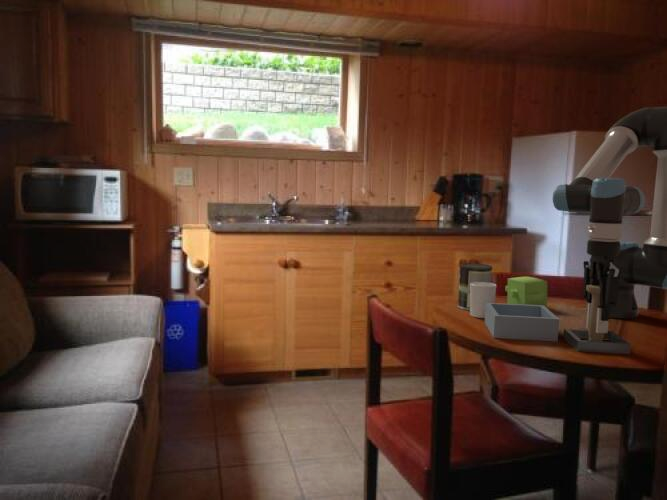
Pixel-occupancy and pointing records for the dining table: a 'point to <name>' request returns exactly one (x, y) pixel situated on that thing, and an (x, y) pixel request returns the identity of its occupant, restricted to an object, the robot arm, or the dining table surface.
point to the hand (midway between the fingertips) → (596, 329)
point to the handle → (594, 313)
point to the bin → (521, 322)
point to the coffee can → (468, 275)
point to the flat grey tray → (596, 342)
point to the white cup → (481, 297)
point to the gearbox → (527, 291)
